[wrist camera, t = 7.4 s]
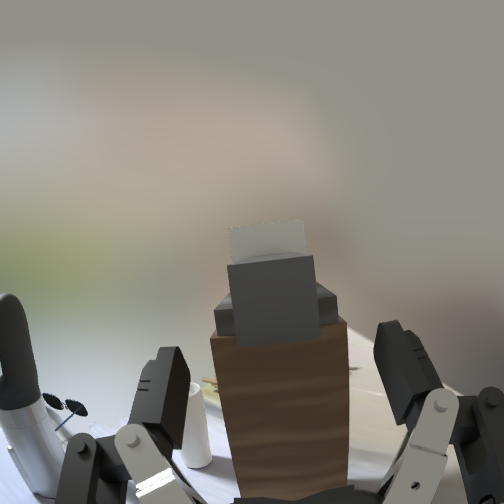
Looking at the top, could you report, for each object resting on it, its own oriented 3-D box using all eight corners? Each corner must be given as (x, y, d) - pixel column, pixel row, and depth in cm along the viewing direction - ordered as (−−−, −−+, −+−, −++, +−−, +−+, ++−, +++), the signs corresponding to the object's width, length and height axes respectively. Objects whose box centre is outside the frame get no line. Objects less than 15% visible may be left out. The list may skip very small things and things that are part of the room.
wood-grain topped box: (340, 543, 21) (344, 294, 21) (255, 552, 22) (205, 310, 22) (326, 478, 35) (315, 276, 35) (259, 485, 36) (230, 286, 36)
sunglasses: (91, 418, 58) (84, 402, 57) (58, 452, 44) (48, 435, 43) (48, 406, 61) (41, 391, 60) (16, 432, 47) (8, 416, 46)
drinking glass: (222, 466, 41) (205, 393, 41) (183, 475, 39) (161, 402, 39) (210, 447, 48) (195, 378, 48) (175, 455, 45) (156, 385, 45)
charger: (349, 333, 12) (334, 191, 12) (208, 350, 13) (190, 209, 13) (301, 282, 32) (294, 226, 32) (245, 289, 33) (238, 233, 32)
